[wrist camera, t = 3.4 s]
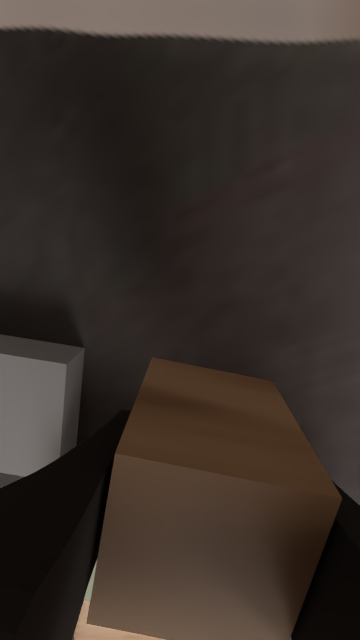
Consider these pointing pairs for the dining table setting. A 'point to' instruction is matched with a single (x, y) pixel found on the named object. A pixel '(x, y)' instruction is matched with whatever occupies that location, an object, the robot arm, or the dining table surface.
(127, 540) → the walnut block
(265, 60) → the dining table surface
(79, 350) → the grey square block
